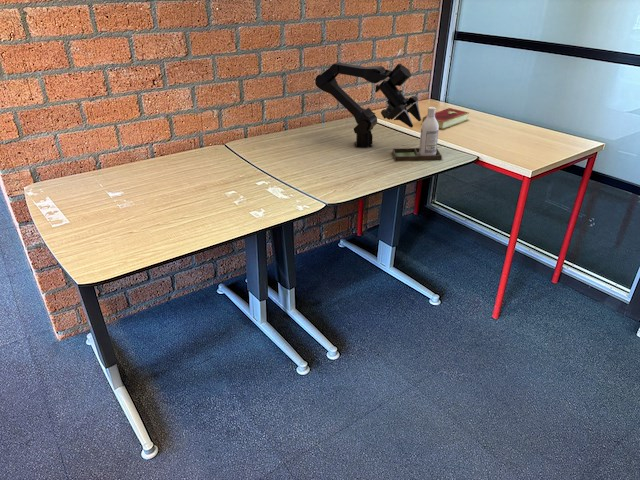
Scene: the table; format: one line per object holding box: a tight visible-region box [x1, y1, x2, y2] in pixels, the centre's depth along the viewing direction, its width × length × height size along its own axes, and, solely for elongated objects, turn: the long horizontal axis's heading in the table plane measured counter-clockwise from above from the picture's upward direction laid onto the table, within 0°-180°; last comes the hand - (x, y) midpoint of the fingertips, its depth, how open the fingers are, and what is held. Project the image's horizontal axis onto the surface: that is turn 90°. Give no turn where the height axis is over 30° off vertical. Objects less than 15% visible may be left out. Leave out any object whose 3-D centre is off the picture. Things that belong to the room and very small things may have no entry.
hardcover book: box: [422, 107, 470, 131], centre depth 238 cm, size 12×21×4 cm, turn 132°
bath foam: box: [418, 106, 440, 156], centre depth 196 cm, size 7×7×20 cm
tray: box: [392, 147, 443, 162], centre depth 201 cm, size 18×10×2 cm, turn 91°
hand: (416, 123), depth 197 cm, fingers open, 9 cm apart
